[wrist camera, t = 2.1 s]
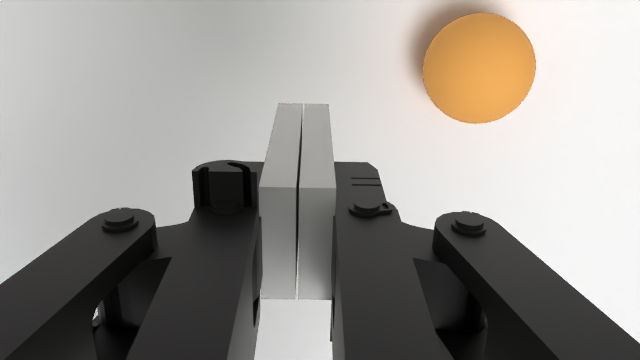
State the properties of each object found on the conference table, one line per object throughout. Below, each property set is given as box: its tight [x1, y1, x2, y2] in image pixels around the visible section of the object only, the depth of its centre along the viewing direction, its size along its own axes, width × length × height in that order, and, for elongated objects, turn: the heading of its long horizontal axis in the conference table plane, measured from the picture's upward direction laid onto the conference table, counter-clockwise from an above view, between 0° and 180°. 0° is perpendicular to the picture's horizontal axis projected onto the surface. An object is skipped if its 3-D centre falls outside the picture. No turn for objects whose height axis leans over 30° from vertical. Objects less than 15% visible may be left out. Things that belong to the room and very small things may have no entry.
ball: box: [423, 13, 536, 124], centre depth 30 cm, size 6×6×6 cm
